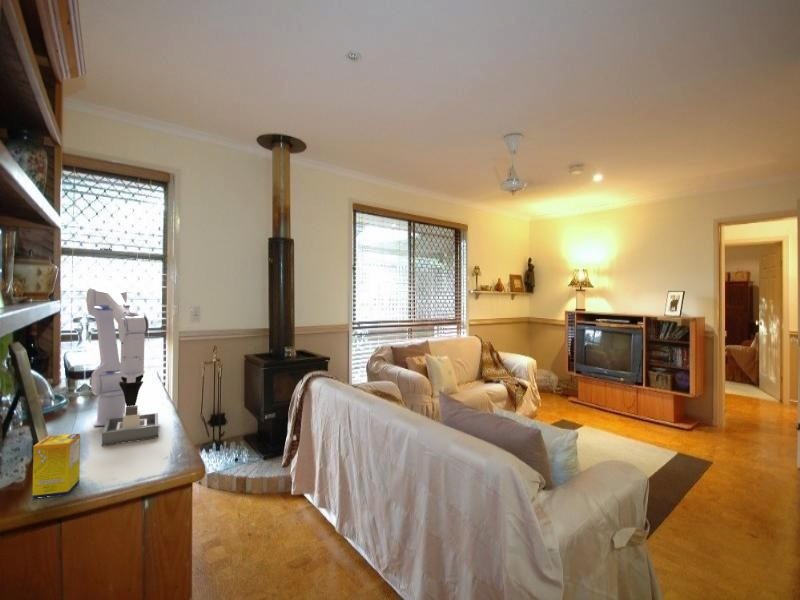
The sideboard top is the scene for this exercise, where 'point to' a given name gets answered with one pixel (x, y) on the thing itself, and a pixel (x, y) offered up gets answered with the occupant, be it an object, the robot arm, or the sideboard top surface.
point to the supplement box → (56, 465)
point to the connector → (131, 417)
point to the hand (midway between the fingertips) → (131, 402)
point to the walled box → (130, 430)
